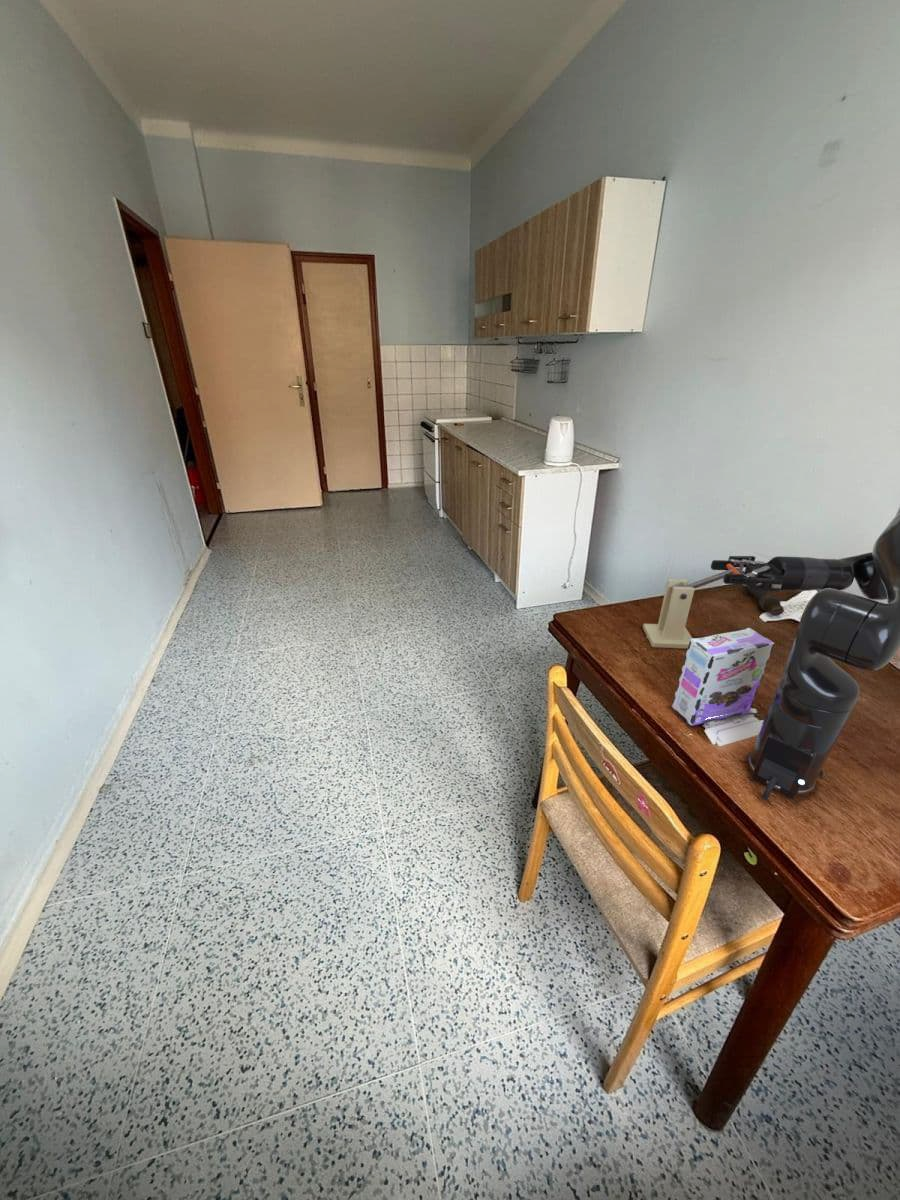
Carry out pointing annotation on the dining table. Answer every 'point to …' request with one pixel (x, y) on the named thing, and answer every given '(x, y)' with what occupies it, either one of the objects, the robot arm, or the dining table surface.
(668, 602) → the bracket
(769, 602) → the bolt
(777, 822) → the dining table surface
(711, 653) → the candy box
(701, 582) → the lever
